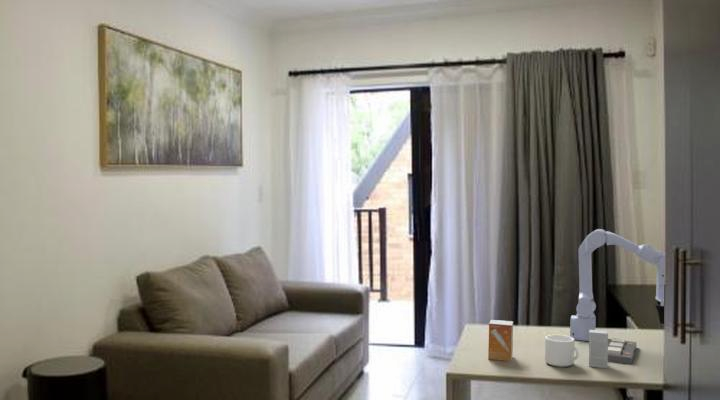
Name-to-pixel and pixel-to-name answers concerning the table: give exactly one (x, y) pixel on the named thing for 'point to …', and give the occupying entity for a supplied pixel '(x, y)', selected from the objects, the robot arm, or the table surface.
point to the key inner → (618, 340)
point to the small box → (500, 340)
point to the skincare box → (598, 348)
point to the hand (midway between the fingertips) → (663, 321)
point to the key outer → (614, 350)
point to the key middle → (616, 345)
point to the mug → (560, 350)
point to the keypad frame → (623, 353)
